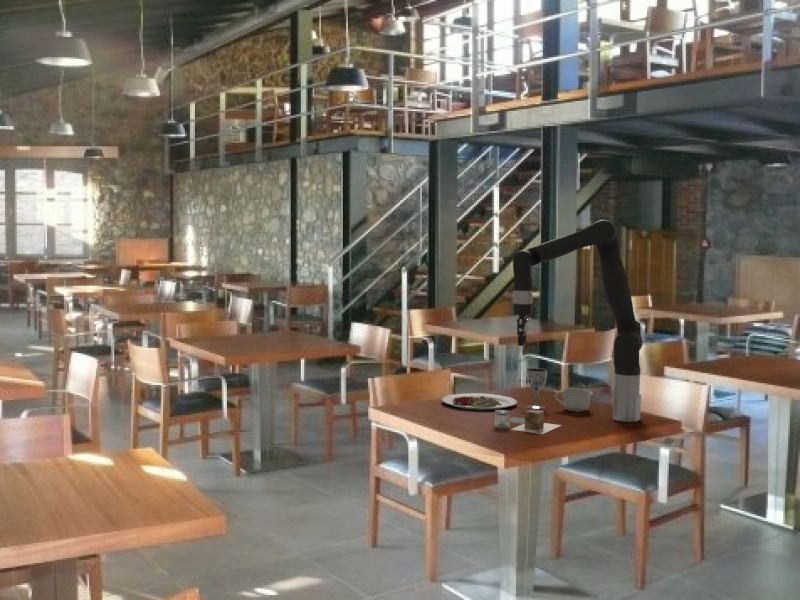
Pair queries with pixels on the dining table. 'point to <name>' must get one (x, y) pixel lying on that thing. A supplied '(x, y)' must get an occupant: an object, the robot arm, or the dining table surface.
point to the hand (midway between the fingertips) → (522, 344)
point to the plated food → (479, 401)
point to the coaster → (517, 420)
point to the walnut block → (534, 419)
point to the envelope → (546, 428)
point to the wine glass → (536, 383)
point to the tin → (502, 419)
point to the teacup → (574, 399)
